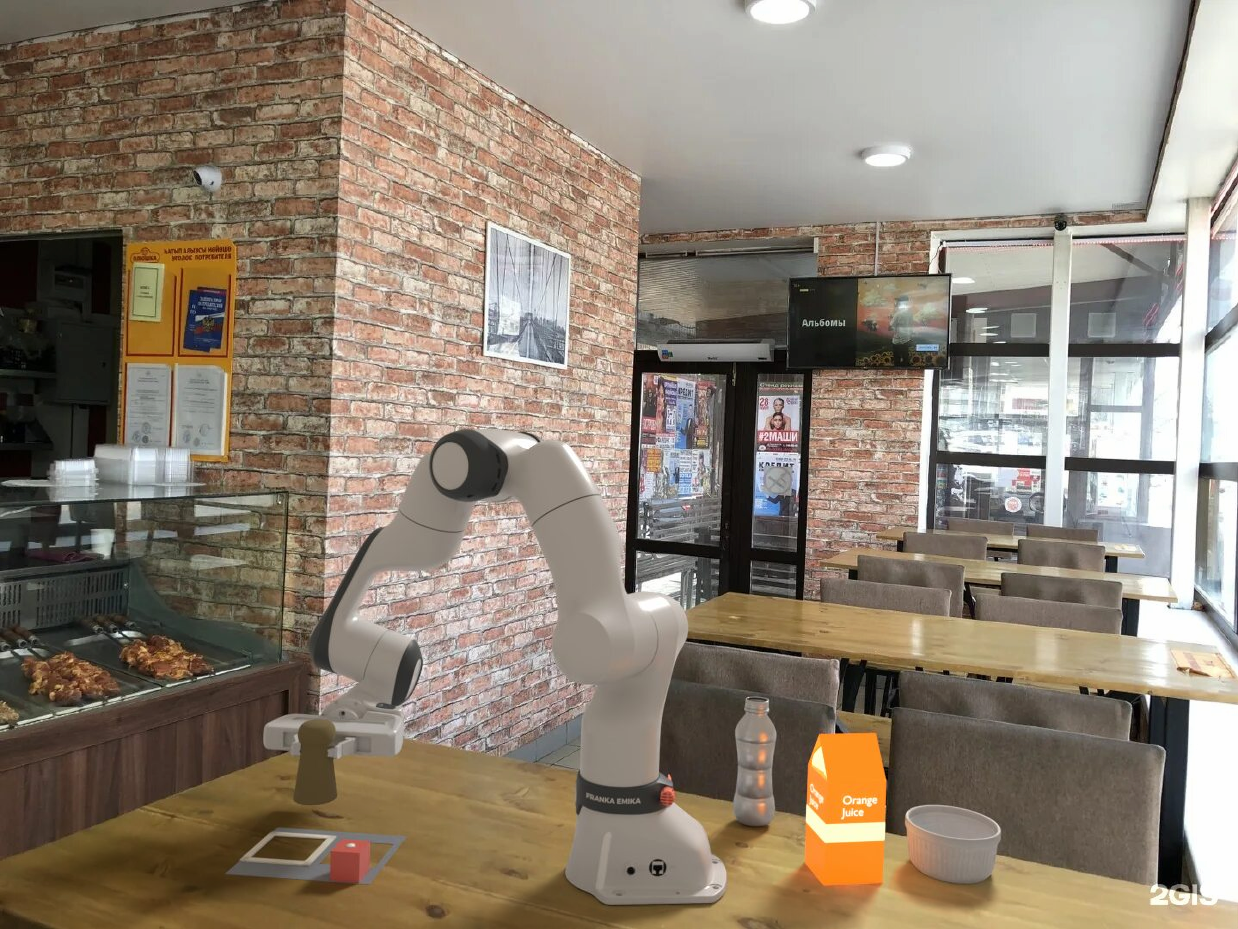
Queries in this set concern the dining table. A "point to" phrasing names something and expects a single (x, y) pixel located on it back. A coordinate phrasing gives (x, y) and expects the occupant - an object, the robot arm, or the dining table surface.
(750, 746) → the plastic bottle
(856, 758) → the orange juice
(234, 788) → the dining table surface
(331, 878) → the red cube
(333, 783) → the cork
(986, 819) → the ramekin
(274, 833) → the grey and white frame
